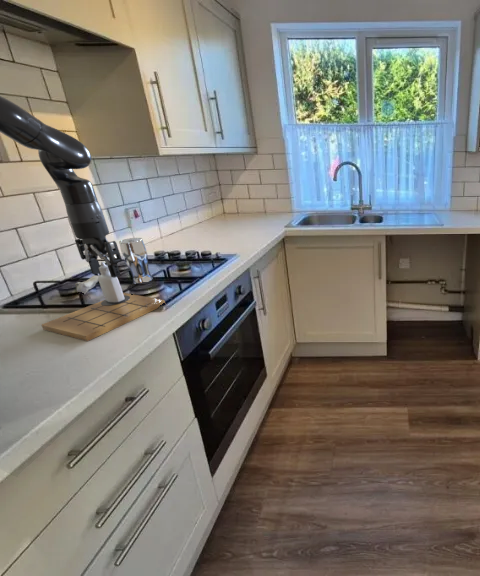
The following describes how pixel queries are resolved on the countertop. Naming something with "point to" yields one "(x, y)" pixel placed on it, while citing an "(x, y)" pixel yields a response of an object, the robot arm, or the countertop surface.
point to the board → (102, 317)
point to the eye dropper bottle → (110, 285)
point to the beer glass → (136, 259)
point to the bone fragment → (86, 284)
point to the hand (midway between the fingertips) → (106, 275)
